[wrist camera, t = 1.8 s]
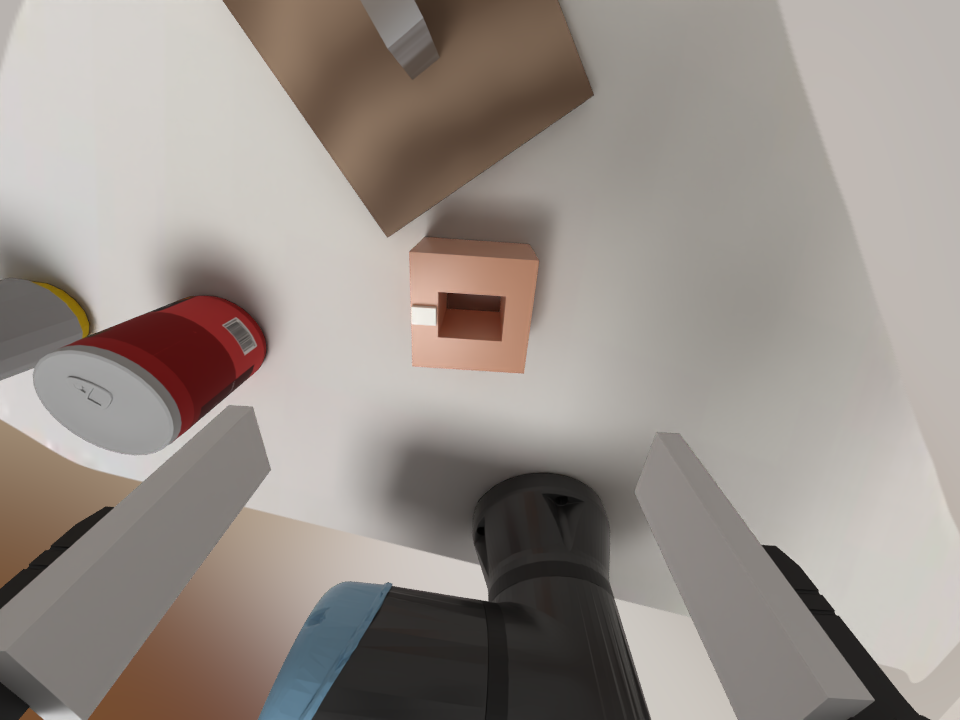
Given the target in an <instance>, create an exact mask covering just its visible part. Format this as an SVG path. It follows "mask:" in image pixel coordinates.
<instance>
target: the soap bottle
mask: <svg viewBox="0 0 960 720" xmlns="http://www.w3.org/2000/svg"><path fill="white" fill-rule="evenodd" d="M89 325H90V324H89V322H88V319H87V316H86V314H85V312H84V310H83V309H82V308H81V307H80V305H79V304H78V303H77V302H76V301H75V300H74V299H73V298H72V297H70V296H69V295H68V294H66V293H65V292H64V291H63V290H61V289H58V288H56V287H54V286H52V285H50V284H47V283H40V282H31V281H28V280H22V279H15V278H7V279H4V280H0V380H3V379H6V378H8V377H11V376H14V375H16V374H19V373H22V372H24V371H27V370H30V369H32V368H35V366H36V364H37V363H38V361H39V360H40V359H41V358H43V357H44V356H46V355H47V354H50V353H52V352H54V351H55V350H57V349H59V348H61V347H64V346H66V345H69V344H71V343H73V342H75V341H77V340H80V339H82V338H85V337H87V335H88V334H89Z"/></svg>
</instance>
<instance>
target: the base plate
mask: <svg viewBox="0 0 960 720" xmlns="http://www.w3.org/2000/svg"><path fill="white" fill-rule="evenodd" d="M223 2H224V3H225V5H226V6H227V7H228V9H229V10H230V12H231V13H232V15H233V16H234V18H235V19H236V20H237V22H238V23H239V25H240V26H241V28H242V29H243V30H244V32H245V33H246V35H247V36H248V38H249V39H250V41H251V42H252V43H253V45H254V46H255V48H256V49H257V51H258V52H259V53H260V55H261V56H262V58H263V59H264V61H265V62H266V64H267V65H268V66H269V68H270V69H271V71H272V72H273V74H274V75H275V77H276V78H277V79H278V81H279V82H280V84H281V85H282V87H283V88H284V89H285V91H286V92H287V94H288V95H289V97H290V98H291V100H292V101H293V102H294V104H295V105H296V107H297V108H298V110H299V111H300V113H301V114H302V115H303V117H304V118H305V120H306V121H307V123H308V124H309V125H310V127H311V128H312V130H313V131H314V133H315V134H316V136H317V137H318V138H319V140H320V141H321V143H322V144H323V146H324V147H325V149H326V150H327V151H328V153H329V154H330V156H331V157H332V159H333V160H334V161H335V163H336V164H337V166H338V167H339V169H340V170H341V172H342V173H343V174H344V176H345V177H346V179H347V180H348V182H349V183H350V185H351V186H352V187H353V189H354V190H355V192H356V193H357V195H358V196H359V197H360V199H361V200H362V202H363V203H364V205H365V206H366V208H367V209H368V210H369V212H370V213H371V215H372V216H373V218H374V219H375V221H376V222H377V223H378V225H379V226H380V228H381V229H382V231H383V232H384V233H385V235H386V236H387V237H389V236H391V235H392V234H394V233H395V232H397V231H398V230H400V229H401V228H402V227H404V226H405V225H407V224H408V223H410V222H411V221H413V220H414V219H415V218H417V217H418V216H420V215H421V214H423V213H424V212H426V211H427V210H429V209H430V208H431V207H433V206H434V205H436V204H437V203H439V202H440V201H442V200H443V199H444V198H446V197H447V196H449V195H450V194H452V193H453V192H455V191H456V190H457V189H459V188H460V187H462V186H463V185H465V184H466V183H468V182H469V181H471V180H472V179H473V178H475V177H476V176H478V175H479V174H481V173H482V172H484V171H485V170H486V169H488V168H489V167H491V166H492V165H494V164H495V163H497V162H498V161H500V160H501V159H502V158H504V157H505V156H507V155H508V154H510V153H511V152H513V151H514V150H515V149H517V148H518V147H520V146H521V145H523V144H524V143H526V142H527V141H529V140H530V139H531V138H533V137H534V136H536V135H537V134H539V133H540V132H542V131H543V130H544V129H546V128H547V127H549V126H550V125H552V124H553V123H555V122H556V121H558V120H559V119H560V118H562V117H563V116H565V115H566V114H568V113H569V112H571V111H572V110H573V109H575V108H576V107H578V106H579V105H581V104H582V103H584V102H585V101H586V100H588V99H589V98H591V97H592V96H593V95H594V94H593V91H592V89H591V86H590V83H589V81H588V78H587V76H586V73H585V70H584V68H583V65H582V62H581V60H580V57H579V54H578V52H577V49H576V47H575V44H574V41H573V39H572V36H571V33H570V31H569V28H568V26H567V23H566V20H565V18H564V15H563V12H562V10H561V7H560V5H559V2H558V0H223Z"/></svg>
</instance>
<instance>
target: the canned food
mask: <svg viewBox="0 0 960 720" xmlns="http://www.w3.org/2000/svg"><path fill="white" fill-rule="evenodd" d="M265 354H266V341H265V337H264V335H263V333H262V330H261V329H260V327H259V325H258V324H257V322H256V321H255V320H254V319H253V318H252V317H251V316H250V315H249V314H248V313H247V312H246V311H245V310H243V309H242V308H241V307H239V306H237V305H236V304H234V303H232V302H230V301H228V300H226V299H222V298H219V297H214V296H191V297H187V298H184V299H181V300H179V301H176V302H174V303H171V304H168V305H166V306H163V307H161V308H158V309H156V310H153V311H151V312H148V313H146V314H143V315H141V316H138V317H136V318H133V319H131V320H128V321H125V322H123V323H120V324H118V325H115V326H113V327H110V328H108V329H105V330H103V331H100V332H98V333H95V334H93V335H90V336H88V337H85V338H82V339H80V340H77V341H75V342H73V343H71V344H69V345H66V346H64V347H61V348H59V349H57V350H55V351H54V352H52V353H50V354H47V355H46V356H44V357H43V358H41V359H40V360H39V361H38V363H37V364H36V366H35V368H34V372H33V383H34V387H35V390H36V393H37V395H38V397H39V399H40V400H41V402H42V404H43V405H44V406H45V408H46V409H47V410H48V411H49V413H50V414H51V415H52V416H53V417H54V418H55V419H56V420H57V421H58V422H59V423H61V424H62V425H63V426H64V427H66V428H67V429H68V430H70V431H71V432H72V433H74V434H75V435H77V436H79V437H80V438H82V439H84V440H85V441H87V442H89V443H92V444H94V445H96V446H98V447H101V448H104V449H106V450H109V451H113V452H117V453H121V454H128V455H147V454H152V453H156V452H158V451H160V450H162V449H163V448H165V447H166V446H167V445H169V444H171V443H172V442H173V441H175V440H176V439H177V438H178V437H179V436H181V435H182V434H183V433H185V432H186V431H187V430H188V429H189V428H190V427H192V426H193V425H194V424H195V423H196V422H198V421H199V420H200V419H201V418H202V417H203V416H205V415H206V414H207V413H208V412H209V411H210V410H212V409H213V408H214V407H215V406H216V405H217V404H219V403H220V402H221V401H222V400H223V399H224V398H226V397H227V396H228V395H229V394H230V393H232V392H233V391H234V390H235V389H236V388H237V387H239V386H240V385H241V384H242V383H243V382H244V381H246V380H247V379H248V378H249V377H250V376H251V375H253V374H254V373H255V372H256V371H257V370H258V369H259V368H260V366H261V364H262V362H263V360H264V358H265Z"/></svg>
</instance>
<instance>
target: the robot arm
mask: <svg viewBox="0 0 960 720" xmlns="http://www.w3.org/2000/svg"><path fill="white" fill-rule="evenodd" d="M270 470H271V468H270V465H269V461H268V458H267V454H266V451H265V447H264V444H263V440H262V437H261V433H260V430H259V427H258V423H257V420H256V416H255V413H254V409H253V407H249V406H233V405H229V406H228V407H226V408H225V409H224V410H223V411H222V412H221V413H220V414H219V415H217V416H216V417H215V418H214V419H213V420H212V421H211V422H210V423H209V424H207V425H206V426H205V427H204V428H203V429H202V430H201V431H200V432H198V433H197V434H196V435H195V436H194V437H193V438H192V439H191V440H189V441H188V442H187V443H186V444H185V445H184V446H183V447H182V448H181V449H179V450H178V451H177V452H176V453H175V454H174V455H173V456H172V457H170V458H169V459H168V460H167V461H166V462H165V463H164V464H163V465H161V466H160V467H159V468H158V469H157V470H156V471H155V472H154V473H153V474H151V475H150V476H149V477H148V478H147V479H146V480H145V481H144V482H142V483H141V484H140V485H139V486H138V487H137V488H136V489H135V490H133V491H132V492H131V493H130V494H129V495H128V496H127V497H126V498H125V499H123V500H122V501H121V502H120V503H119V504H118V505H117V506H116V507H104V508H103V509H101V510H99V511H98V512H96V513H94V514H93V515H91V516H89V517H88V518H86V519H84V520H82V521H81V522H79V523H77V524H76V525H75V526H73V527H72V528H71V529H70V530H69V531H68V532H66V533H65V534H64V535H63V536H62V537H61V538H59V539H58V540H57V541H56V542H55V543H54V544H52V545H51V548H50V549H49V550H46V551H44V552H43V553H42V554H41V555H39V556H38V557H37V558H36V559H35V560H33V561H32V562H31V563H30V564H29V567H28V568H27V569H23V570H22V571H21V572H19V573H18V574H17V575H16V576H15V577H14V578H12V579H11V580H10V581H9V582H8V583H6V584H5V585H4V586H3V587H2V588H1V589H0V720H19V719H20V717H21V716H22V715H23V714H24V713H25V712H26V710H27V709H28V708H31V709H32V710H33V711H34V712H36V713H37V714H38V715H39V716H41V717H42V718H43V719H44V720H87V719H88V718H89V717H90V715H91V714H92V713H93V711H94V710H95V708H96V707H97V706H98V704H99V703H100V702H101V700H102V699H103V697H104V696H105V695H106V693H107V692H108V691H109V689H110V688H111V687H112V685H113V684H114V683H115V681H116V680H117V678H118V677H119V676H120V674H121V673H122V672H123V670H124V669H125V668H126V666H127V665H128V664H129V662H130V661H131V660H132V658H133V657H134V655H135V654H136V653H137V651H138V650H139V649H140V647H141V646H142V645H143V643H144V642H145V640H146V639H147V638H148V636H149V635H150V634H151V632H152V631H153V630H154V628H155V627H156V626H157V624H158V623H159V621H160V620H161V619H162V617H163V616H164V615H165V613H166V612H167V610H168V609H169V608H170V606H171V605H172V604H173V602H174V601H175V600H176V598H177V597H178V596H179V594H180V593H181V591H182V590H183V589H184V587H185V586H186V585H187V583H188V582H189V581H190V579H191V578H192V576H193V575H194V574H195V572H196V571H197V570H198V568H199V567H200V566H201V564H202V563H203V561H204V560H205V559H206V557H207V556H208V555H209V553H210V552H211V551H212V549H213V548H214V547H215V545H216V544H217V543H218V541H219V540H220V538H221V537H222V536H223V534H224V533H225V532H226V530H227V529H228V528H229V526H230V525H231V523H232V522H233V521H234V519H235V518H236V517H237V515H238V514H239V512H240V511H241V510H242V508H243V507H244V506H245V504H246V503H247V502H248V500H249V499H250V498H251V496H252V495H253V494H254V492H255V491H256V489H257V488H258V487H259V485H260V484H261V483H262V481H263V480H264V479H265V477H266V476H267V474H268V473H269V472H270ZM634 493H635V495H636V497H637V499H638V502H639V504H640V506H641V508H642V510H643V513H644V515H645V517H646V519H647V521H648V524H649V526H650V528H651V530H652V532H653V535H654V537H655V539H656V541H657V543H658V546H659V548H660V550H661V552H662V554H663V557H664V559H665V561H666V563H667V565H668V568H669V570H670V572H671V574H672V576H673V579H674V581H675V583H676V585H677V587H678V589H679V592H680V594H681V596H682V598H683V600H684V603H685V605H686V607H687V609H688V611H689V614H690V616H691V618H692V620H693V622H694V625H695V627H696V629H697V631H698V633H699V636H700V638H701V640H702V642H703V644H704V647H705V649H706V650H707V653H708V655H709V658H710V660H711V662H712V664H713V666H714V668H715V671H716V673H717V675H718V677H719V679H720V682H721V683H722V686H723V688H724V690H725V693H726V695H727V697H728V699H729V701H730V704H731V706H732V708H733V710H734V712H735V715H736V717H737V719H738V720H930V719H928V718H926V717H924V716H921V715H919V714H918V713H917V712H916V711H915V710H914V709H913V708H912V707H911V706H910V704H909V703H908V702H907V701H906V700H905V699H904V698H903V696H902V695H901V694H900V693H899V691H898V690H897V689H896V688H895V686H894V685H893V684H892V682H891V681H890V680H889V679H888V677H887V676H886V675H885V674H884V672H883V671H882V670H881V669H880V668H879V666H878V665H877V663H876V662H875V661H874V660H873V658H872V657H871V656H870V655H869V653H868V652H867V651H866V650H865V648H864V647H863V646H862V644H861V643H860V642H859V641H858V639H857V638H856V637H855V636H854V634H853V633H852V632H851V631H850V629H849V628H848V627H847V626H846V624H845V623H844V622H843V620H842V619H841V618H840V617H839V616H837V615H835V612H834V611H835V610H834V609H833V608H832V607H831V605H830V604H829V603H828V601H827V600H826V599H825V598H824V596H823V595H820V594H819V592H818V591H819V590H818V589H817V588H816V586H815V585H814V584H813V583H812V581H811V580H810V579H809V577H808V576H807V575H806V574H805V572H804V571H803V570H802V569H801V567H800V566H799V565H797V564H796V563H795V562H794V561H793V560H792V559H790V558H789V557H788V556H787V555H786V554H785V553H783V552H782V551H781V550H780V549H779V548H778V547H776V546H768V545H761V544H760V543H759V541H758V540H757V539H756V537H755V536H754V534H753V533H752V532H751V530H750V529H749V528H748V526H747V525H746V523H745V522H744V521H743V519H742V518H741V517H740V515H739V514H738V513H737V511H736V510H735V508H734V507H733V506H732V504H731V503H730V502H729V500H728V499H727V498H726V496H725V495H724V493H723V492H722V491H721V489H720V488H719V487H718V485H717V484H716V483H715V481H714V480H713V478H712V477H711V476H710V474H709V473H708V472H707V470H706V469H705V468H704V466H703V465H702V463H701V462H700V461H699V459H698V458H697V457H696V455H695V454H694V453H693V451H692V450H691V448H690V447H689V446H688V444H687V443H686V442H685V440H684V439H683V438H682V436H681V435H680V434H677V433H661V432H656V435H655V437H654V440H653V443H652V445H651V448H650V451H649V454H648V456H647V459H646V462H645V464H644V467H643V470H642V472H641V475H640V478H639V481H638V483H637V486H636V489H635V491H634ZM473 541H474V546H475V549H476V552H477V555H478V559H479V562H480V565H481V568H482V572H483V575H484V578H485V581H486V585H487V588H488V594H489V595H488V596H489V602H488V601H481V600H476V599H469V598H463V597H456V596H450V595H444V594H438V593H432V592H425V591H419V590H412V589H407V588H400V587H395V586H392V584H391V583H389V582H388V583H386V584H384V585H381V584H371V583H361V582H351V581H350V582H342V583H339V584H337V585H336V586H334V587H332V588H331V589H330V590H328V591H327V592H326V593H325V594H324V595H323V597H322V598H321V599H320V600H319V602H318V603H317V605H316V606H315V607H314V609H313V610H312V612H311V614H310V615H309V617H308V618H307V620H306V622H305V624H304V626H303V627H302V629H301V631H300V633H299V634H298V636H297V638H296V640H295V642H294V644H293V646H292V648H291V650H290V652H289V654H288V655H287V657H286V659H285V662H284V664H283V666H282V668H281V670H280V672H279V674H278V676H277V678H276V680H275V683H274V685H273V687H272V689H271V691H270V693H269V696H268V698H267V700H266V702H265V705H264V707H263V709H262V711H261V714H260V716H259V719H258V720H651V717H650V714H649V711H648V708H647V704H646V701H645V698H644V694H643V691H642V688H641V685H640V682H639V678H638V675H637V671H636V668H635V665H634V662H633V659H632V655H631V652H630V649H629V645H628V642H627V639H626V635H625V633H624V629H623V626H622V622H621V619H620V616H619V613H618V609H617V606H616V603H615V600H614V596H613V593H612V590H611V586H610V582H609V561H610V527H609V522H608V518H607V515H606V513H605V510H604V507H603V504H602V502H601V500H600V498H599V497H598V496H597V494H596V493H595V492H594V491H593V490H592V489H591V488H589V487H588V486H586V485H585V484H583V483H582V482H580V481H578V480H575V479H573V478H570V477H566V476H562V475H557V474H548V473H537V474H527V475H522V476H518V477H514V478H511V479H509V480H506V481H504V482H502V483H500V484H498V485H496V486H495V487H493V488H492V489H491V490H489V491H488V492H487V493H486V494H485V495H484V496H483V497H482V498H481V500H480V501H479V503H478V504H477V506H476V509H475V512H474V517H473Z"/></svg>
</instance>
